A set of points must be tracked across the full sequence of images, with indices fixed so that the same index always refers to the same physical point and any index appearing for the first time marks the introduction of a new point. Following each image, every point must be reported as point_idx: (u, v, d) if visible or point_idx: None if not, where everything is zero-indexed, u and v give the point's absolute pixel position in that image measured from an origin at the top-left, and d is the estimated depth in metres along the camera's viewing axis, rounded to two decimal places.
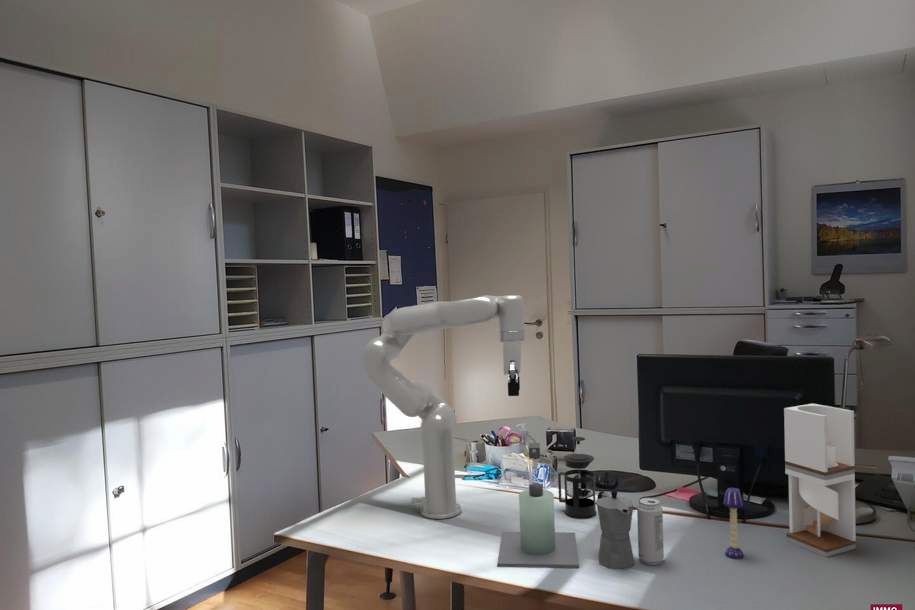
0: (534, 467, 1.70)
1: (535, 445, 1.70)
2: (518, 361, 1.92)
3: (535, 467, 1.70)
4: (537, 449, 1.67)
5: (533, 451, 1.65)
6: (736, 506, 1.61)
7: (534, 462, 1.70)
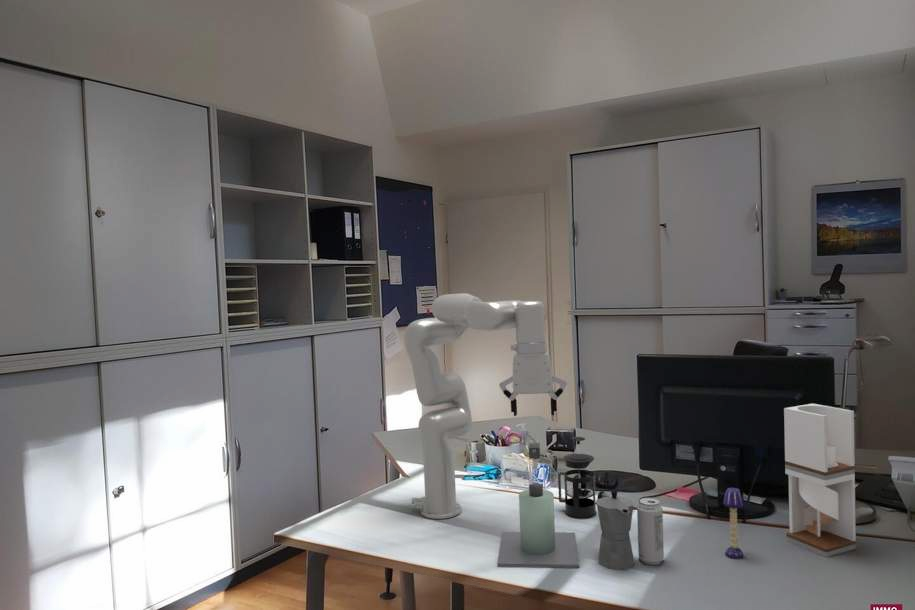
0: (534, 467, 1.70)
1: (535, 445, 1.70)
2: None
3: (535, 467, 1.70)
4: (537, 449, 1.67)
5: (533, 451, 1.65)
6: (736, 506, 1.61)
7: (534, 462, 1.70)
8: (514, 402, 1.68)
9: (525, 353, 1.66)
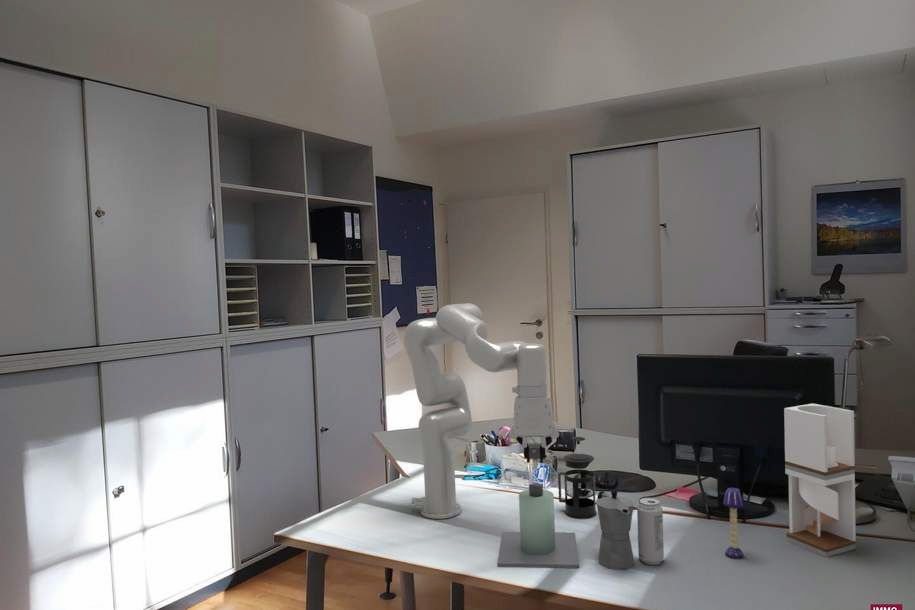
0: (534, 467, 1.70)
1: (535, 445, 1.70)
2: None
3: (535, 467, 1.70)
4: (537, 449, 1.67)
5: (533, 451, 1.65)
6: (736, 506, 1.61)
7: (534, 462, 1.70)
8: (527, 449, 1.69)
9: (526, 396, 1.66)
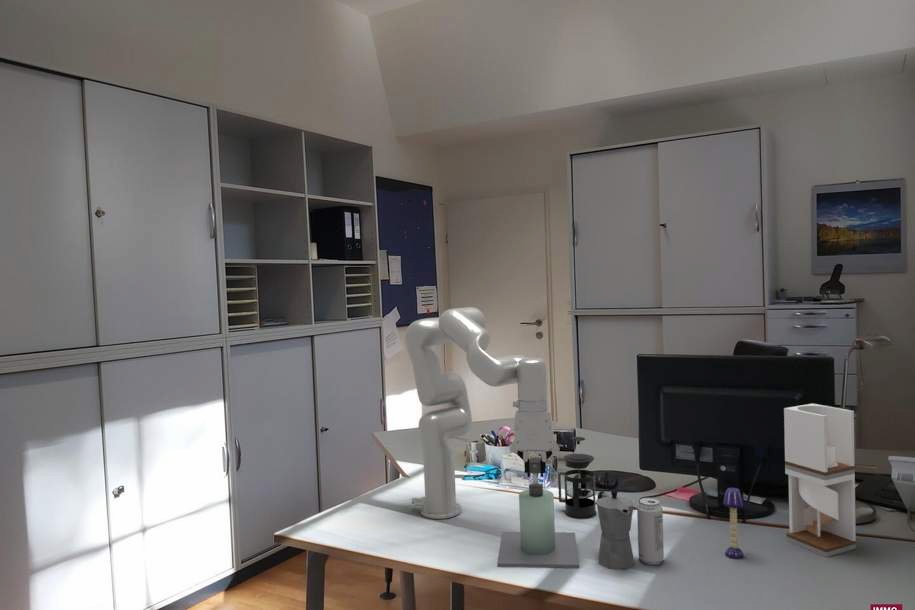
0: (535, 481, 1.70)
1: (536, 459, 1.70)
2: None
3: (536, 481, 1.70)
4: (538, 464, 1.68)
5: (534, 466, 1.65)
6: (736, 506, 1.61)
7: (535, 476, 1.70)
8: (528, 463, 1.69)
9: (527, 411, 1.66)
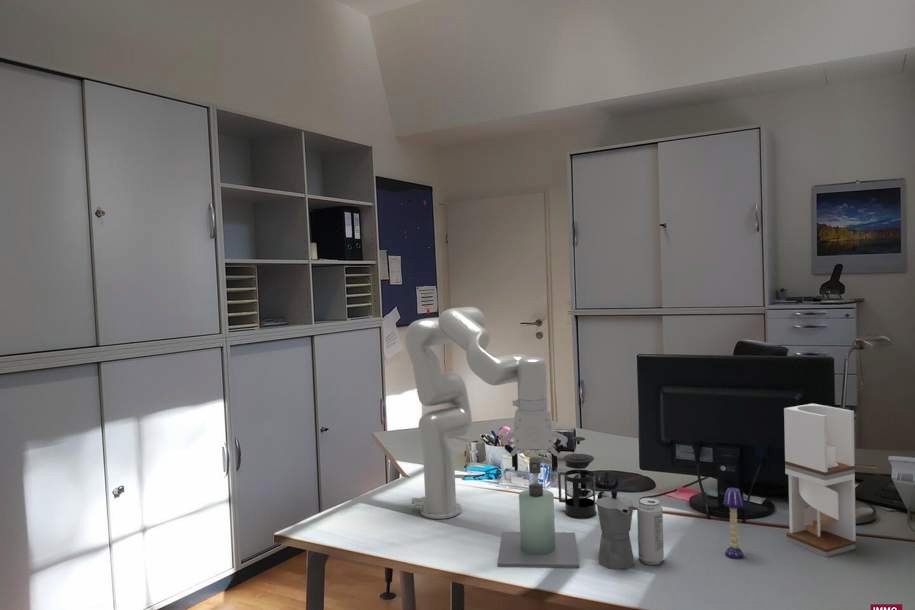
0: (535, 481, 1.70)
1: (536, 459, 1.70)
2: None
3: (536, 481, 1.70)
4: (538, 464, 1.68)
5: (534, 466, 1.65)
6: (736, 506, 1.61)
7: (535, 476, 1.70)
8: (515, 457, 1.69)
9: (527, 410, 1.66)
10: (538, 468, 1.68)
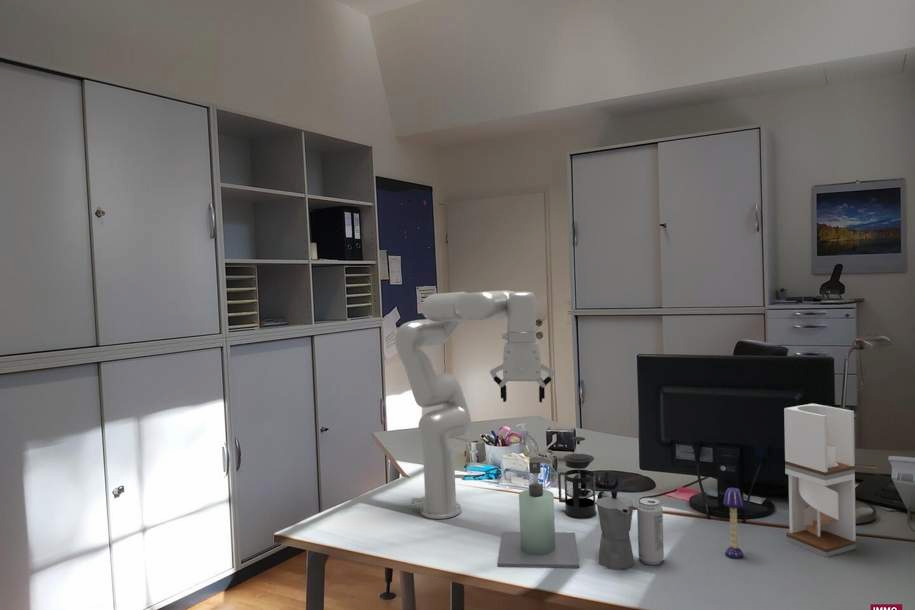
0: (535, 481, 1.70)
1: (536, 459, 1.70)
2: None
3: (536, 481, 1.70)
4: (538, 464, 1.68)
5: (534, 466, 1.65)
6: (736, 506, 1.61)
7: (535, 476, 1.70)
8: (504, 389, 1.75)
9: (515, 342, 1.71)
10: (538, 468, 1.68)
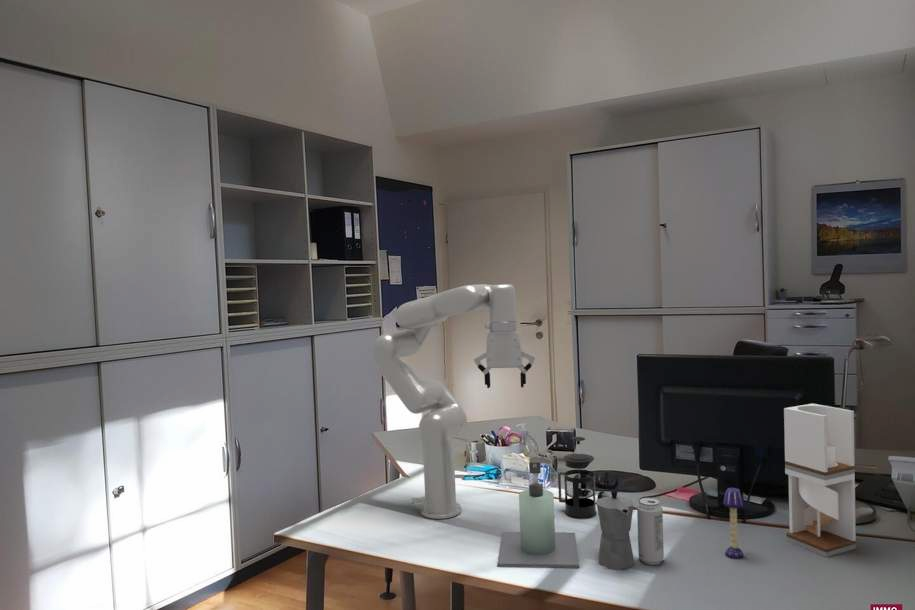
0: (535, 481, 1.70)
1: (536, 459, 1.70)
2: None
3: (536, 481, 1.70)
4: (538, 464, 1.68)
5: (534, 466, 1.65)
6: (736, 506, 1.61)
7: (535, 476, 1.70)
8: (487, 375, 1.86)
9: (497, 331, 1.83)
10: (538, 468, 1.68)
